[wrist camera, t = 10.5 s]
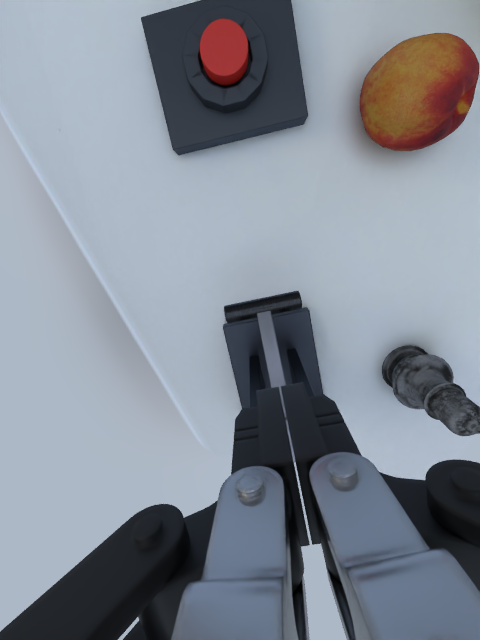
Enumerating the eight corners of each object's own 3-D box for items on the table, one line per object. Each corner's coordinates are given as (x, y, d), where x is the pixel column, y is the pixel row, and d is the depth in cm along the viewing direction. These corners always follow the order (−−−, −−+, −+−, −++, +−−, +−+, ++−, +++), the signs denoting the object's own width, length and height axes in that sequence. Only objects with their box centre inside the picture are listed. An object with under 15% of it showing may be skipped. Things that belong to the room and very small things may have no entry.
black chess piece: (368, 375, 37) (423, 442, 25) (402, 332, 35) (478, 382, 24) (410, 401, 37) (482, 478, 26) (445, 360, 36) (539, 422, 24)
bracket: (223, 324, 35) (206, 386, 21) (307, 307, 35) (347, 360, 20) (246, 421, 38) (245, 534, 24) (324, 407, 38) (369, 515, 23)
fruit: (384, 181, 31) (428, 165, 24) (331, 110, 30) (359, 69, 22) (456, 118, 30) (528, 79, 22) (404, 40, 28) (461, -30, 21)
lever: (226, 309, 28) (221, 302, 25) (297, 295, 27) (299, 286, 25) (253, 461, 25) (250, 469, 23) (332, 448, 25) (338, 454, 22)
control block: (178, 155, 31) (168, 144, 27) (148, 32, 29) (132, 1, 25) (304, 124, 30) (312, 108, 26) (284, -6, 28) (290, -44, 24)
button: (208, 90, 27) (206, 81, 25) (197, 38, 26) (194, 25, 24) (252, 79, 26) (252, 68, 25) (242, 26, 25) (242, 12, 24)
